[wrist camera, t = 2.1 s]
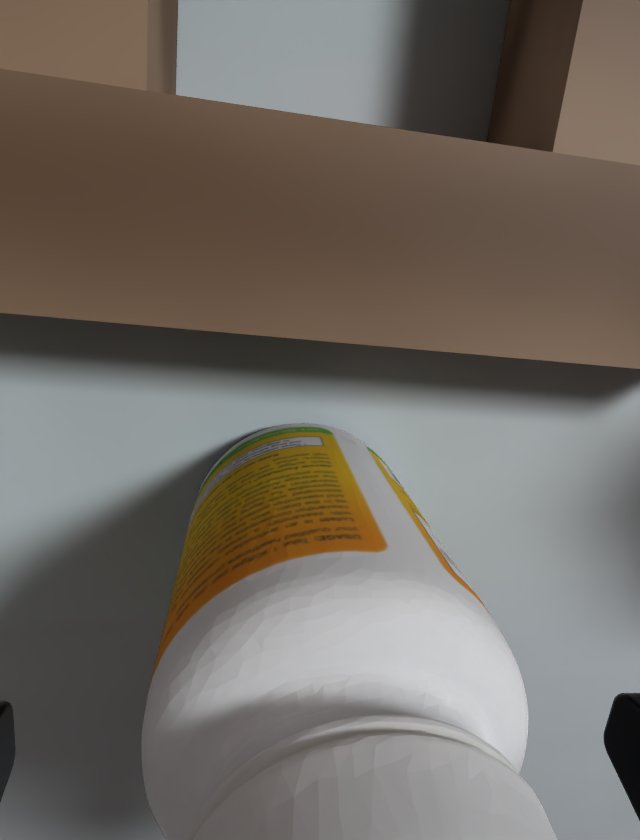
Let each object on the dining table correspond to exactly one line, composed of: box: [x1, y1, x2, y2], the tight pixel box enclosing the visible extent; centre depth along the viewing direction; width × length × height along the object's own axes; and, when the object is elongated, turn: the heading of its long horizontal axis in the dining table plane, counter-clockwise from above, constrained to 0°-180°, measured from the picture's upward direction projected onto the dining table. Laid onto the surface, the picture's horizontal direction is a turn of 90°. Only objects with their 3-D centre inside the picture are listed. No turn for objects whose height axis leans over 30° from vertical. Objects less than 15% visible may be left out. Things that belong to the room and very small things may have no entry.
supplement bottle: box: [141, 423, 558, 840], centre depth 9 cm, size 5×5×10 cm
